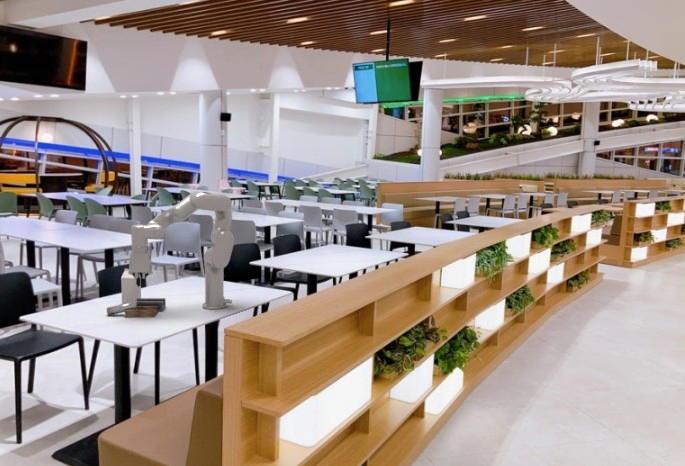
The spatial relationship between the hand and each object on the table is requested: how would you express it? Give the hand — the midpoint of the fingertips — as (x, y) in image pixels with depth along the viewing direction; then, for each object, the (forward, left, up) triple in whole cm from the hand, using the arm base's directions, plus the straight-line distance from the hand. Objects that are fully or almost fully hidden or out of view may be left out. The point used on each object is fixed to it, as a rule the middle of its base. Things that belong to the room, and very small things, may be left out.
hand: (141, 286), depth 288 cm
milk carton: (+10, -21, -15) cm, 28 cm away
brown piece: (0, 0, -15) cm, 15 cm away
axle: (+9, 0, -13) cm, 16 cm away
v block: (-2, -10, -15) cm, 18 cm away
